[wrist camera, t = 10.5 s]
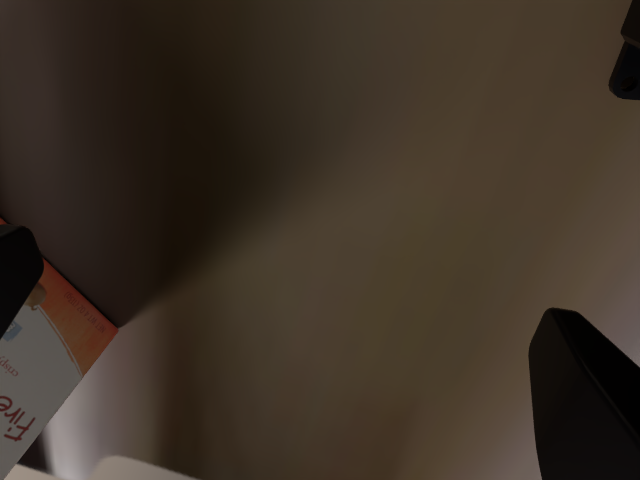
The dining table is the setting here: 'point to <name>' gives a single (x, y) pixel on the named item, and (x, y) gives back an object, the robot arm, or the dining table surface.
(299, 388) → the dining table surface
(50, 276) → the cracker box
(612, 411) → the robot arm
